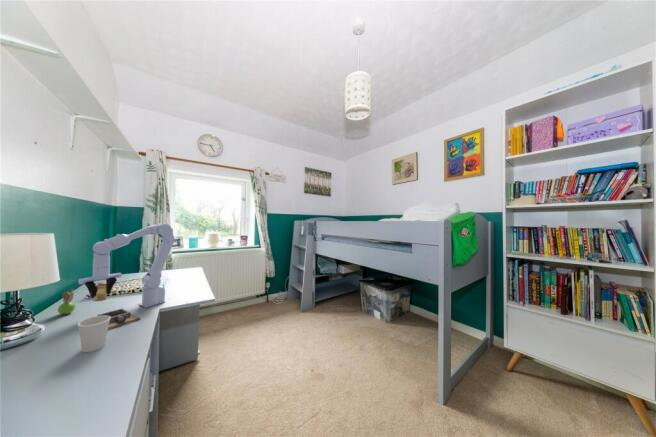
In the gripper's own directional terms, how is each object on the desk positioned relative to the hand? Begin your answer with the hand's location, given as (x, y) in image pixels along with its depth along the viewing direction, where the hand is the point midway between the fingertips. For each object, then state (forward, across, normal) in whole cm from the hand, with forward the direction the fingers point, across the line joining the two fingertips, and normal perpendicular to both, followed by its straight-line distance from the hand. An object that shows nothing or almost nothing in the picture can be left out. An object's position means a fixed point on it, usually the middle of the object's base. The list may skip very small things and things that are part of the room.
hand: (100, 295), depth 107 cm
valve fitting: (+2, 0, 0) cm, 2 cm away
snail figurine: (+10, +7, -14) cm, 18 cm away
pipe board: (+9, -1, +13) cm, 16 cm away
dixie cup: (+10, +12, +33) cm, 36 cm away
